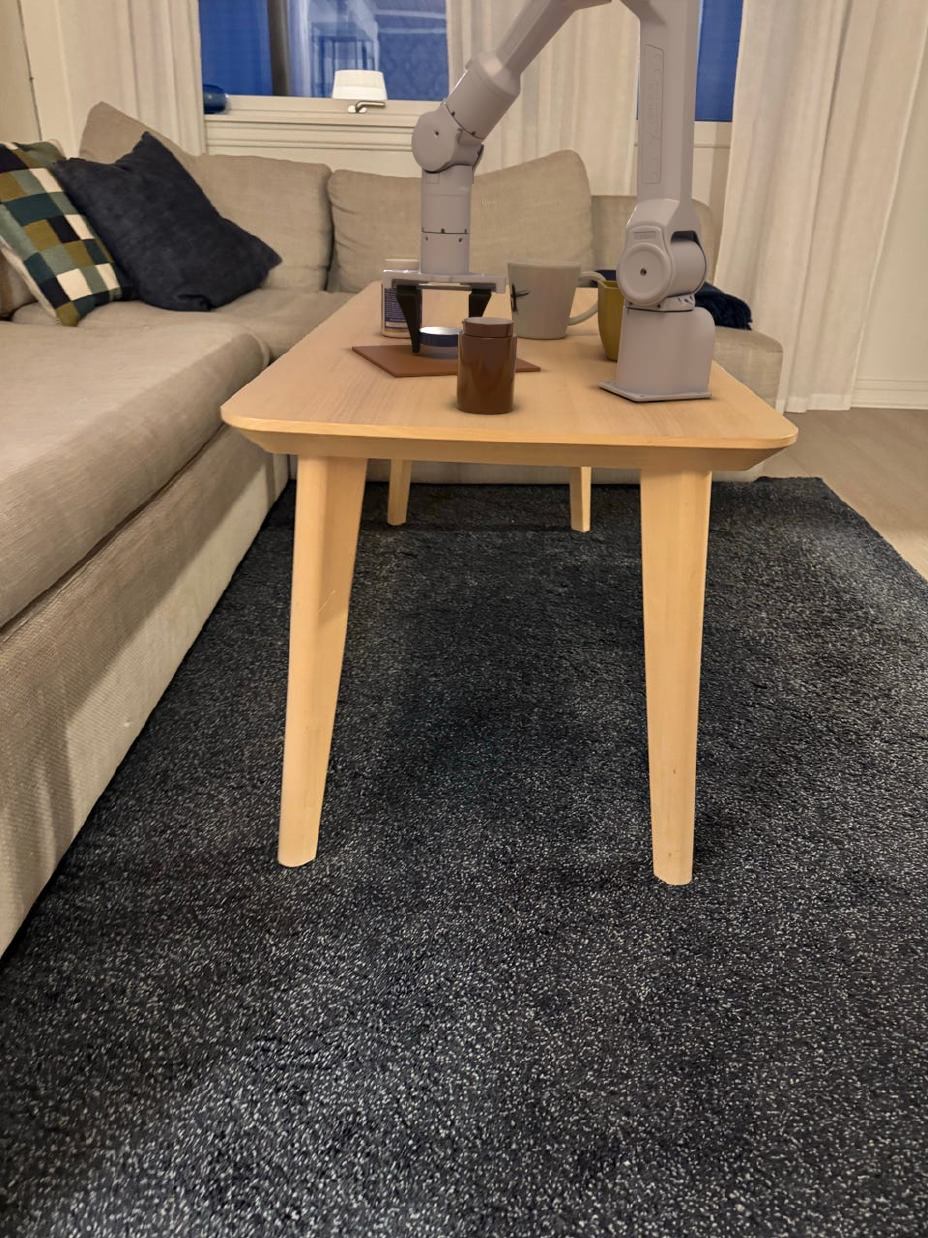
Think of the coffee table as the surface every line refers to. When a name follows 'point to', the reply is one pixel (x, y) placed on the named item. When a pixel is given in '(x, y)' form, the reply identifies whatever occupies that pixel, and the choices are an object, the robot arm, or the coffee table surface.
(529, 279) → the mug
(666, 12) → the robot arm
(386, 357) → the mat
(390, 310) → the pill bottle
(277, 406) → the coffee table surface
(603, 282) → the flower pot
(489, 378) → the jar
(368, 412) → the coffee table surface
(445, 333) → the lid
